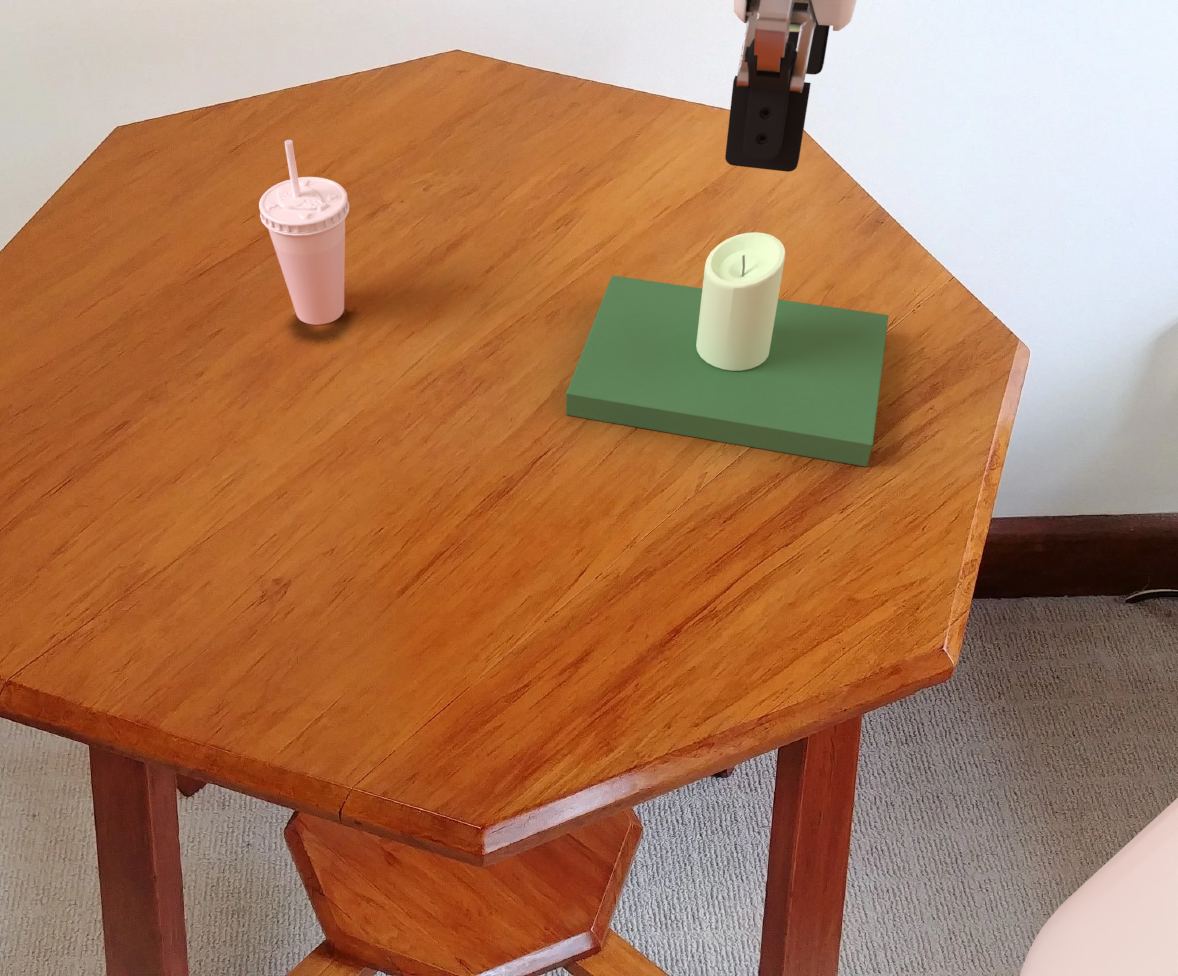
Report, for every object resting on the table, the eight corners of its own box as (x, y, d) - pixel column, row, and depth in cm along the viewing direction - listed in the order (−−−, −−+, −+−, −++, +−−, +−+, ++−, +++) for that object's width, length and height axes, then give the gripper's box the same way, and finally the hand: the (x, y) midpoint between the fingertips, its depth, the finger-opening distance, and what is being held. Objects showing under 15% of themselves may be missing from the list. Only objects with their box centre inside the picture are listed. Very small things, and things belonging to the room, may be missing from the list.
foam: (883, 336, 89) (888, 314, 88) (867, 467, 80) (873, 444, 78) (610, 296, 94) (611, 274, 93) (565, 415, 85) (565, 393, 83)
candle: (718, 380, 84) (731, 279, 78) (683, 338, 87) (693, 238, 81) (783, 360, 85) (801, 260, 79) (745, 319, 88) (759, 220, 82)
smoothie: (315, 275, 98) (290, 112, 88) (379, 302, 95) (360, 136, 85) (260, 317, 94) (228, 152, 84) (325, 346, 91) (298, 178, 81)
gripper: (921, -236, 40) (837, 219, 52) (946, -349, 52) (872, 44, 64) (692, -243, 42) (661, 198, 54) (765, -350, 54) (727, 32, 66)
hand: (776, 114), depth 59 cm, fingers open, 9 cm apart
